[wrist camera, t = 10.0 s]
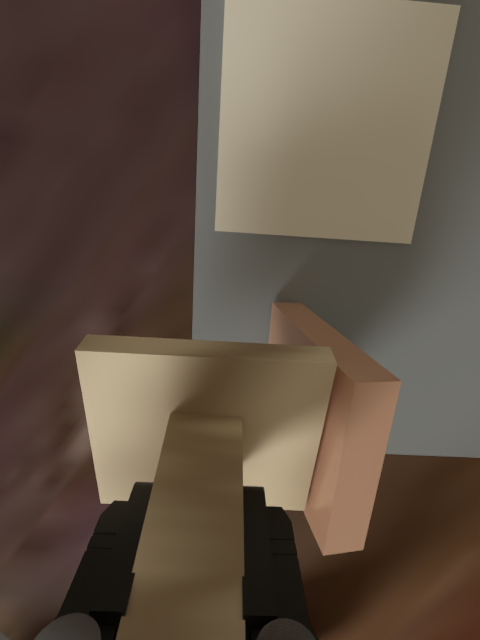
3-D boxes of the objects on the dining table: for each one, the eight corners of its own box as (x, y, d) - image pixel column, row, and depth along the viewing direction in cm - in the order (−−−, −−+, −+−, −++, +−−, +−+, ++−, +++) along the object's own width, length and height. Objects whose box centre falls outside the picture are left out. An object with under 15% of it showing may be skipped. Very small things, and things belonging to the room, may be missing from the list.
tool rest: (456, 8, 16) (460, 5, 15) (408, 243, 19) (410, 244, 19) (225, -13, 15) (225, -17, 15) (214, 230, 18) (214, 230, 18)
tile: (303, 302, 20) (405, 381, 11) (289, 414, 22) (366, 549, 14) (272, 302, 19) (354, 382, 11) (261, 416, 22) (323, 555, 13)
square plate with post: (329, 346, 12) (716, 1242, 2) (300, 488, 15) (411, 1116, 6) (87, 334, 12) (-628, 1291, 2) (109, 481, 15) (-131, 1129, 5)
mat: (680, 15, 17) (707, 4, 16) (521, 449, 24) (533, 460, 23) (204, -31, 16) (202, -46, 15) (190, 435, 23) (189, 445, 22)
